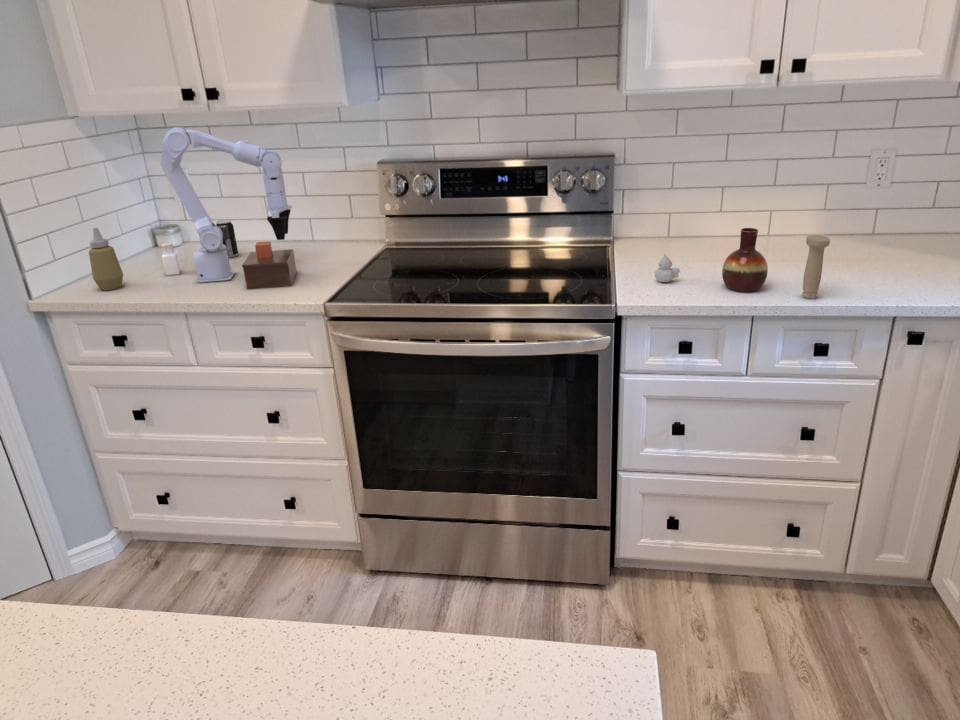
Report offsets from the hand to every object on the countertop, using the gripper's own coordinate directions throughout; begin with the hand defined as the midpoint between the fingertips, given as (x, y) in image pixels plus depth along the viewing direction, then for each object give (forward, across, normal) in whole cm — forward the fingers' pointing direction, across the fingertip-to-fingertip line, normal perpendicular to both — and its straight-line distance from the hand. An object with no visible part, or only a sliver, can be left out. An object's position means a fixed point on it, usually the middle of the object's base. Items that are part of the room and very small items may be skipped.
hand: (282, 236), depth 212 cm
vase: (+11, -52, -124) cm, 135 cm away
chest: (+10, -12, +3) cm, 16 cm away
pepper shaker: (+11, +5, +36) cm, 38 cm away
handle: (+11, -63, -136) cm, 150 cm away
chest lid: (+4, -12, +3) cm, 13 cm away
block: (+3, -12, +4) cm, 13 cm away
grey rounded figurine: (+11, -42, -107) cm, 115 cm away
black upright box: (+11, +22, +22) cm, 33 cm away
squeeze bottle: (+11, -6, +51) cm, 52 cm away
